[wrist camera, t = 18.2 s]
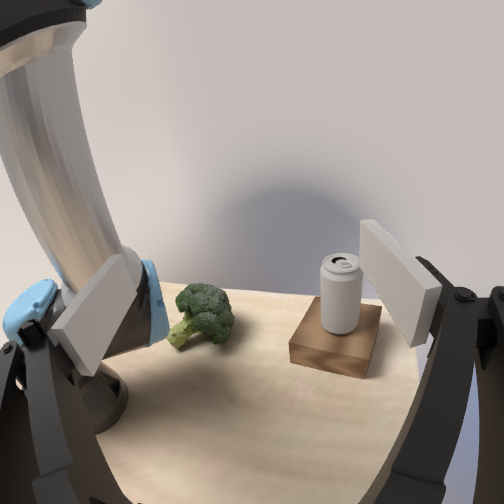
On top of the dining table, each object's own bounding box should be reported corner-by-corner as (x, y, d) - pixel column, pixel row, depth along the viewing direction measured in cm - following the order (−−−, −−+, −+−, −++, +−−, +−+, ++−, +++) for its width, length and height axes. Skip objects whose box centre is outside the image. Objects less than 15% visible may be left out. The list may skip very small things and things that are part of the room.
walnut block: (290, 362, 44) (288, 342, 42) (316, 316, 54) (315, 296, 52) (364, 379, 37) (368, 359, 35) (378, 326, 47) (382, 306, 45)
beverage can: (345, 308, 47) (347, 247, 42) (365, 328, 41) (372, 264, 36) (314, 320, 46) (312, 258, 40) (332, 342, 40) (335, 277, 35)
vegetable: (162, 316, 57) (212, 271, 58) (199, 361, 55) (251, 318, 56) (138, 319, 45) (198, 265, 47) (183, 376, 43) (248, 323, 45)
